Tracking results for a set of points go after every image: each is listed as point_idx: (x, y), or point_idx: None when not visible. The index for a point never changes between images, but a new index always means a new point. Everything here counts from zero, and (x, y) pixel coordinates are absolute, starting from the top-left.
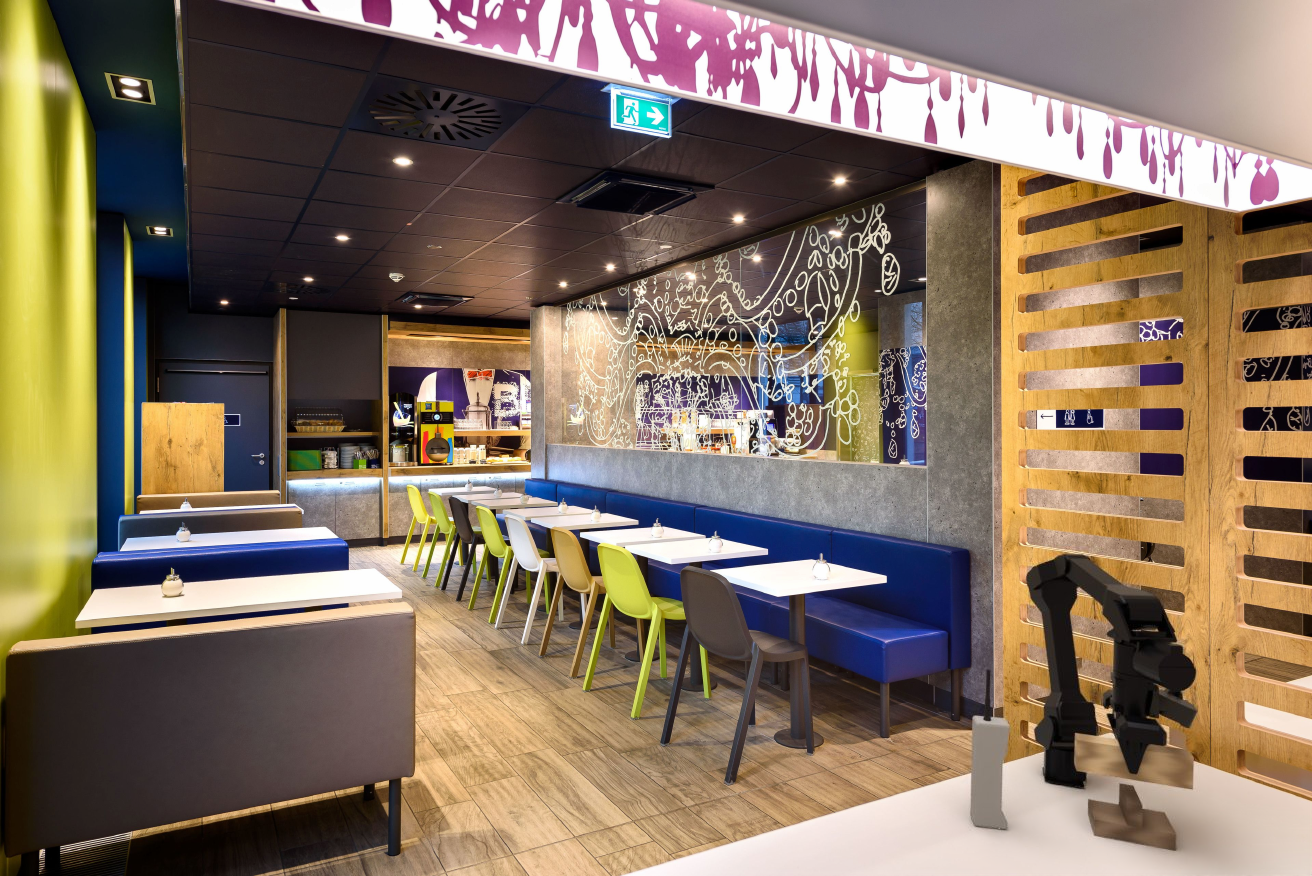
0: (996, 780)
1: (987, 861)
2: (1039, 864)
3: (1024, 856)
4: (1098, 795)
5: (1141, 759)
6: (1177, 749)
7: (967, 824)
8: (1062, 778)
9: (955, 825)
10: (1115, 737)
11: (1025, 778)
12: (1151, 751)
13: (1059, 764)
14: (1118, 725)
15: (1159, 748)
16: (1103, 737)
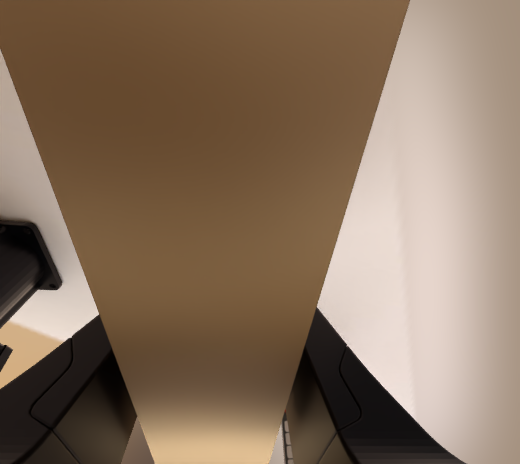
0: None
1: (400, 360)
2: (404, 320)
3: (383, 332)
4: (49, 198)
5: (332, 331)
6: (79, 23)
7: None
8: (37, 268)
9: None
10: (128, 440)
11: (68, 309)
12: (305, 329)
13: (14, 297)
14: None
15: (195, 265)
16: (159, 459)
